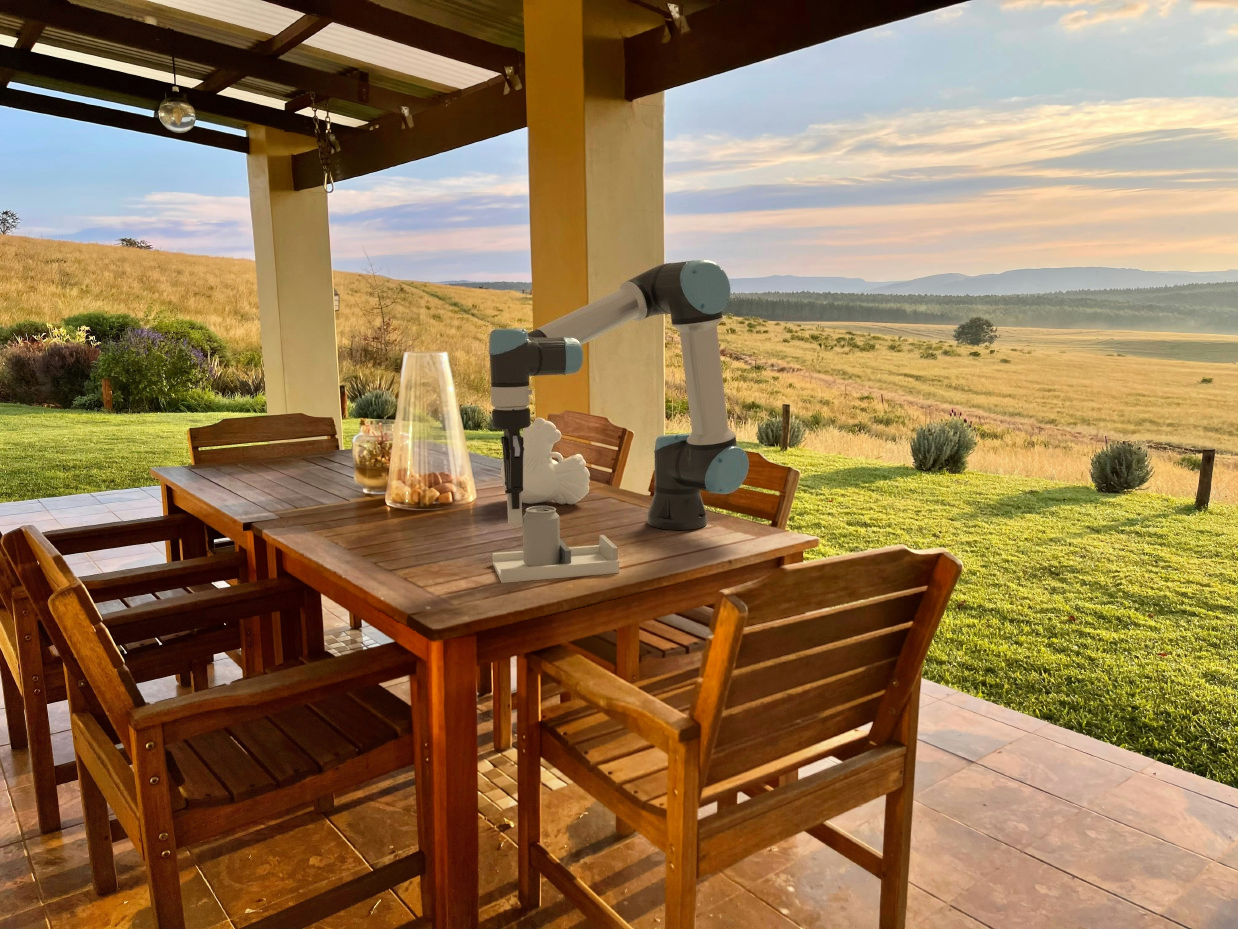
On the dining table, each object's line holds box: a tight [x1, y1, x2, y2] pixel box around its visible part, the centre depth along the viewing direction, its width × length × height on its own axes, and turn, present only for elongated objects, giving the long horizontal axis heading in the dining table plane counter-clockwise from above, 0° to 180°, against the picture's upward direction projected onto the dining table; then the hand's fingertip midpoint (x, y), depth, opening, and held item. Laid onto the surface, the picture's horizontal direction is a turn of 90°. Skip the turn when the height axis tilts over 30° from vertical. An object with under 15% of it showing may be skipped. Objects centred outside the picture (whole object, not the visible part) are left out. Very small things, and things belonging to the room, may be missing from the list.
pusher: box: [559, 537, 571, 564], centre depth 168 cm, size 1×10×4 cm, turn 16°
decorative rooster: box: [500, 417, 591, 505], centre depth 226 cm, size 25×16×25 cm
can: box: [522, 505, 561, 567], centre depth 166 cm, size 8×8×12 cm
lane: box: [492, 534, 620, 584], centre depth 168 cm, size 24×13×5 cm, turn 106°
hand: (515, 523), depth 164 cm, fingers closed
